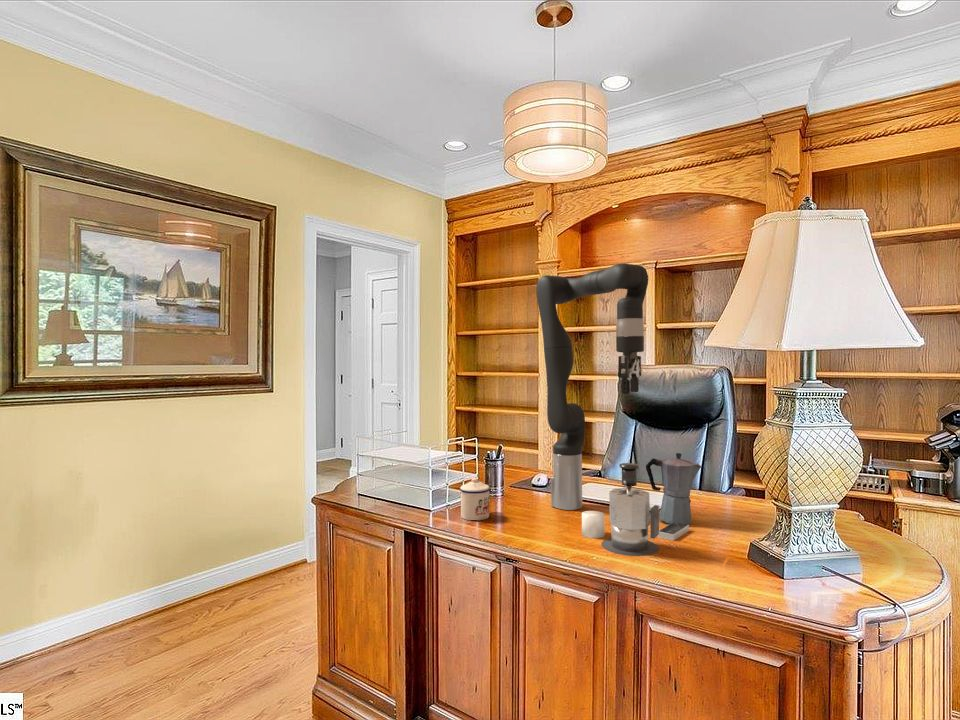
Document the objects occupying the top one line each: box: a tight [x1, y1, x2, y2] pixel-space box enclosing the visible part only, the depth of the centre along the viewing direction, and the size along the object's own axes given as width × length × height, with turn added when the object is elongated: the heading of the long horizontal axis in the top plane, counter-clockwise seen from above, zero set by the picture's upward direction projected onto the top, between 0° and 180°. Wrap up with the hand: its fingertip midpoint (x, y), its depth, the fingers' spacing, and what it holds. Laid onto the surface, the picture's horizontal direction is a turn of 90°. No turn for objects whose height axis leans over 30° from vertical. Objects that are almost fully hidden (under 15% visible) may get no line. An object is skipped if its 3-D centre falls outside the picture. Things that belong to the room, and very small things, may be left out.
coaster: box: [600, 537, 660, 557], centre depth 136 cm, size 14×14×1 cm
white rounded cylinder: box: [581, 510, 606, 539], centre depth 145 cm, size 6×6×6 cm
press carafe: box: [608, 487, 660, 552], centre depth 135 cm, size 11×9×14 cm
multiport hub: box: [657, 522, 690, 541], centre depth 145 cm, size 4×11×2 cm, turn 138°
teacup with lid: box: [459, 477, 491, 521], centre depth 165 cm, size 12×9×12 cm
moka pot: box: [645, 452, 703, 526], centre depth 157 cm, size 10×15×20 cm, turn 78°
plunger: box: [619, 462, 639, 495], centre depth 136 cm, size 5×5×14 cm
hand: (630, 392), depth 151 cm, fingers open, 8 cm apart
